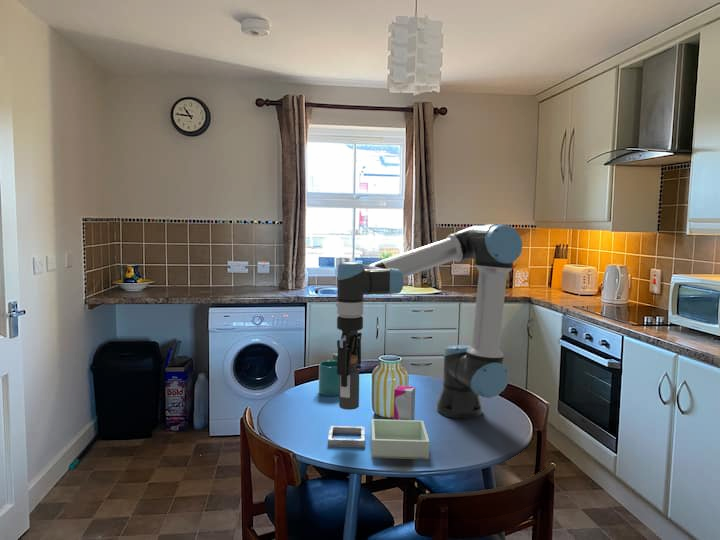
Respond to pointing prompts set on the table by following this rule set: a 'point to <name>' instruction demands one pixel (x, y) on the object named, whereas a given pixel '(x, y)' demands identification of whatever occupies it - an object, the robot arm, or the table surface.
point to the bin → (399, 439)
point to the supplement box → (404, 403)
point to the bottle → (351, 387)
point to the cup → (328, 378)
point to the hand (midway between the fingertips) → (349, 393)
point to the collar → (346, 442)
